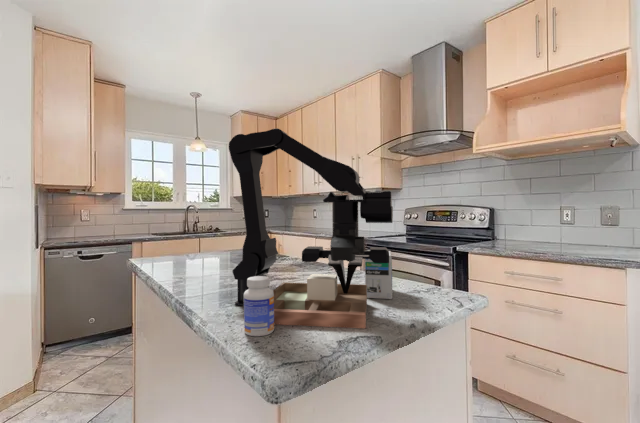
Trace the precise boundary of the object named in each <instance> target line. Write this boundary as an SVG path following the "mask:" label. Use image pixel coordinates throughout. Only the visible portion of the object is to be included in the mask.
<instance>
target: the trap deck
mask: <svg viewBox="0 0 640 423" xmlns="http://www.w3.org/2000/svg"><path fill="white" fill-rule="evenodd" d="M272 290H273V292H274V325H284V326H305V327H324V328H325V327H326V328H327V327H329V328H347V329H348V328H349V329H366V325H367V307H368V305H367V304H368V298H367V285H365V284H360V283H358V284H355V283H354V284H353V283H352V284H351V283H350V287H349V290H348V293H347V294H344V293H343V290H342V287H341V284H340V283H337V296H336V299H335V300H307V282H281V283H280V284H279V285H278V286H277V287H276V288H274V289H272Z"/></svg>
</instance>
